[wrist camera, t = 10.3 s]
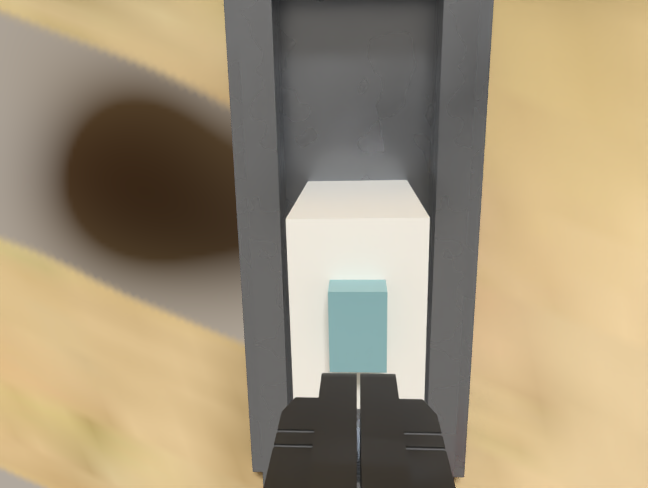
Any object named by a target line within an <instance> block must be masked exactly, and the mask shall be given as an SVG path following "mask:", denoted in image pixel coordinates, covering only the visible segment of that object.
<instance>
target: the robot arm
mask: <svg viewBox="0 0 648 488" xmlns="http://www.w3.org/2000/svg"><path fill="white" fill-rule="evenodd" d="M263 488H357V373H322V375H321V382H320V390H319V398H315V397H295V398H294V399H293V400H292V401H291V402H290V403H289V404H288V406H287V407H286V408H285V409H284V410H283V411H282V412H281V416H280V421H279V425H278V429H277V433H276V437H275V442H274V447H273V450H272V454H271V458H270V462H269V467H268V471H267V475H266V479H265V483H264V487H263ZM360 488H456V487H455V484H454V480H453V476H452V472H451V468H450V464H449V460H448V456H447V452H446V451H445V444H444V440H443V436H442V434H441V428H440V424H439V421H438V417H437V414H436V413H435V412H434V411H433V410H432V409H431V408H430V407H429V406H428V404H427V403H426V402H425V401H424V400H423V399H399V395H398V388H397V381H396V375H395V374H370V373H360Z"/></svg>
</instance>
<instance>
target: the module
mask: <svg viewBox="0 0 648 488" xmlns="http://www.w3.org/2000/svg"><path fill="white" fill-rule="evenodd" d="M429 229H430V217H429V216H428V214H427V212H426V211H425V209H424V207H423V206H422V204H421V202H420V201H419V199H418V197H417V196H416V194H415V192H414V191H413V189H412V188H411V186H410V184H409V183H408V181H407V180H366V181H308V182H307V184H306V185H305V187H304V189H303V190H302V192H301V194H300V195H299V197H298V199H297V201H296V202H295V204H294V206H293V207H292V209H291V211H290V212H289V214H288V216H287V218H286V240H287V263H288V286H289V309H290V333H291V356H292V379H293V399H294V398H295V397H315V398H319V390H320V382H321V375H322V373H357V409H360V373H370V374H395V375H396V381H397V388H398V395H399V399H423V400H424V393H425V360H426V327H427V295H428V262H429Z"/></svg>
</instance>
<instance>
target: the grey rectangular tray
mask: <svg viewBox="0 0 648 488" xmlns="http://www.w3.org/2000/svg"><path fill="white" fill-rule="evenodd" d="M493 3H494V0H224V12H225V28H226V44H227V61H228V77H229V93H230V109H231V126H232V140H233V141H232V142H233V157H234V174H235V191H236V207H237V222H238V239H239V255H240V270H241V271H240V272H241V288H242V304H243V320H244V337H245V353H246V369H247V385H248V402H249V418H250V434H251V450H252V466H253V472H263V487H264V483H265V479H266V475H267V471H268V467H269V462H270V458H271V454H272V450H273V447H274V442H275V437H276V433H277V429H278V425H279V421H280V416H281V412H282V411H283V410H284V409H285V408H286V407H287V406H288V404H289V403H290V402H291V401H292V400H293V379H292V356H291V333H290V309H289V286H288V263H287V240H286V218H287V216H288V214H289V212H290V211H291V209H292V207H293V206H294V204H295V202H296V201H297V199H298V197H299V195H300V194H301V192H302V190H303V189H304V187H305V185H306V184H307V182H308V181H366V180H407V181H408V183H409V184H410V186H411V188H412V189H413V191H414V192H415V194H416V196H417V197H418V199H419V201H420V202H421V204H422V206H423V207H424V209H425V211H426V212H427V214H428V216H429V217H430V229H429V262H428V295H427V327H426V360H425V393H424V401H425V402H426V403H427V404H428V406H429V407H430V408H431V409H432V410H433V411H434V412H435V413H436V414H437V417H438V421H439V424H440V428H441V434H442V436H443V440H444V444H445V451H446V452H447V456H448V460H449V464H450V468H451V472H452V476H453V480H454V477H464V470H465V454H466V437H467V421H468V405H469V389H470V373H471V357H472V341H473V325H474V309H475V293H476V277H477V260H478V244H479V228H480V212H481V196H482V180H483V164H484V148H485V132H486V116H487V100H488V83H489V67H490V51H491V35H492V19H493ZM357 488H360V409H357Z"/></svg>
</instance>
